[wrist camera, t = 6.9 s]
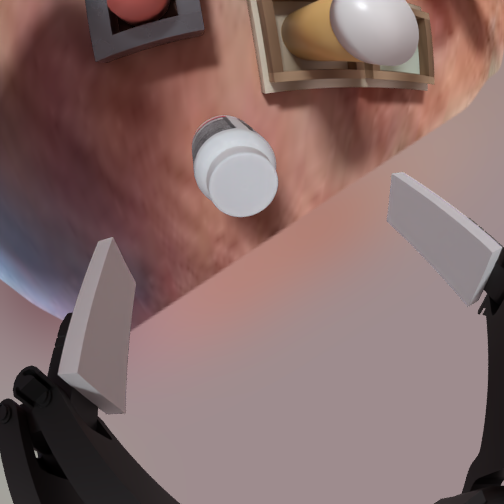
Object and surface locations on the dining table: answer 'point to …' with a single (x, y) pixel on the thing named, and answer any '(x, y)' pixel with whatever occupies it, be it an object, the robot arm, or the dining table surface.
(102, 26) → the grey square frame
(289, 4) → the wooden divided tray
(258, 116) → the dining table surface
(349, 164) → the dining table surface
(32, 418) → the robot arm
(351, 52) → the amber capped bottle
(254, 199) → the pill bottle
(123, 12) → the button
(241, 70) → the dining table surface
